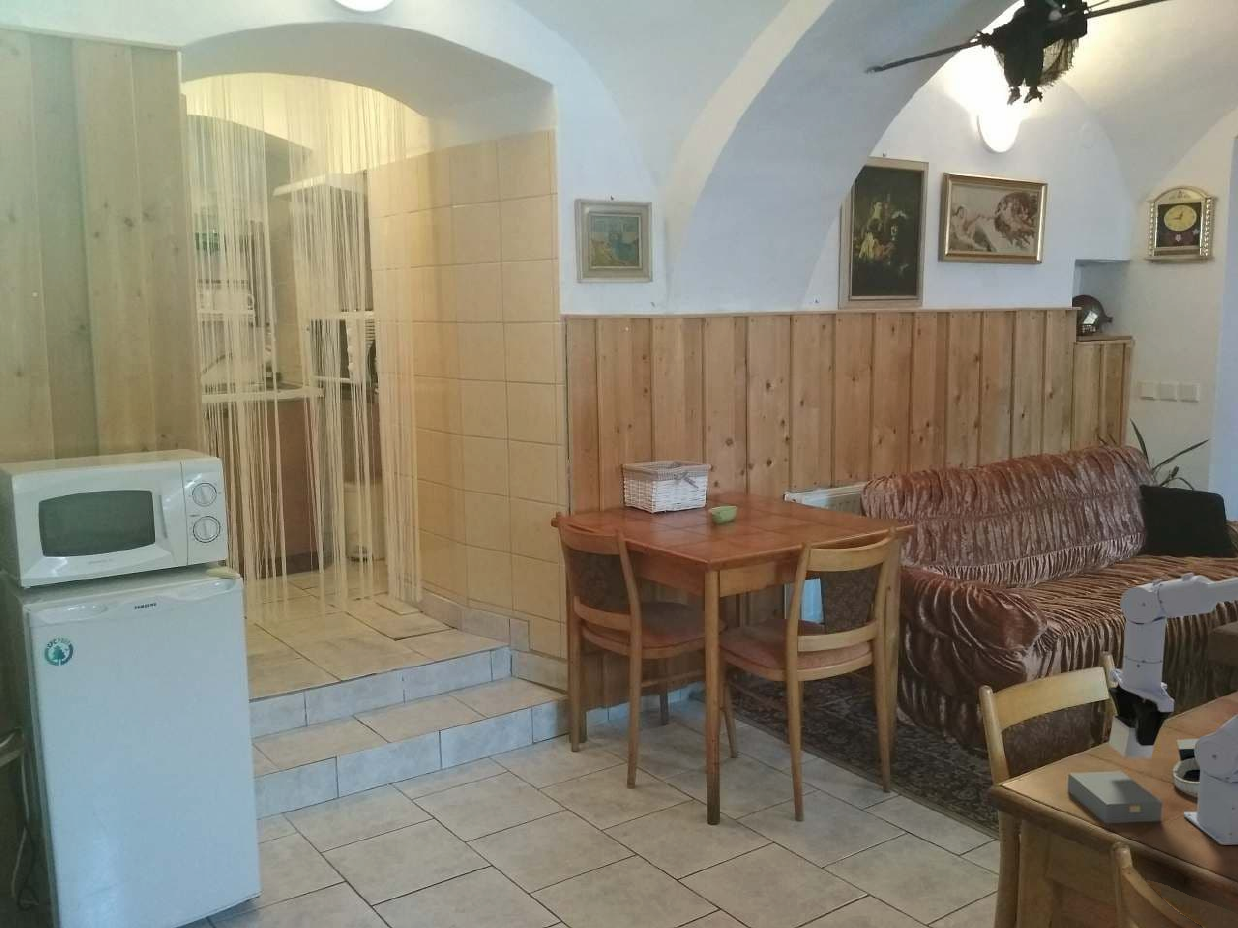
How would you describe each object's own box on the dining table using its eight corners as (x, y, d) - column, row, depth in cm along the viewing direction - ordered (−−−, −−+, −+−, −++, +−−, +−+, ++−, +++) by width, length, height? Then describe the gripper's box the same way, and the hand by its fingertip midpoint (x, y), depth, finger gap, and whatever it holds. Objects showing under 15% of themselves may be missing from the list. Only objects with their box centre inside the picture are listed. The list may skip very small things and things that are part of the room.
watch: (1222, 766, 176) (1234, 803, 167) (1170, 768, 180) (1178, 804, 170) (1218, 737, 175) (1229, 772, 166) (1165, 739, 179) (1172, 774, 169)
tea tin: (1152, 758, 167) (1157, 729, 166) (1124, 757, 166) (1129, 727, 166) (1135, 745, 172) (1140, 717, 171) (1107, 744, 171) (1112, 715, 170)
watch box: (1161, 823, 160) (1163, 802, 160) (1106, 826, 159) (1107, 805, 159) (1119, 790, 171) (1120, 770, 171) (1067, 793, 170) (1068, 773, 170)
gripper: (1195, 672, 160) (1188, 755, 162) (1140, 643, 174) (1134, 720, 176) (1151, 673, 159) (1145, 757, 161) (1100, 643, 174) (1094, 721, 175)
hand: (1136, 738), depth 169 cm, fingers closed on tea tin, 5 cm apart
